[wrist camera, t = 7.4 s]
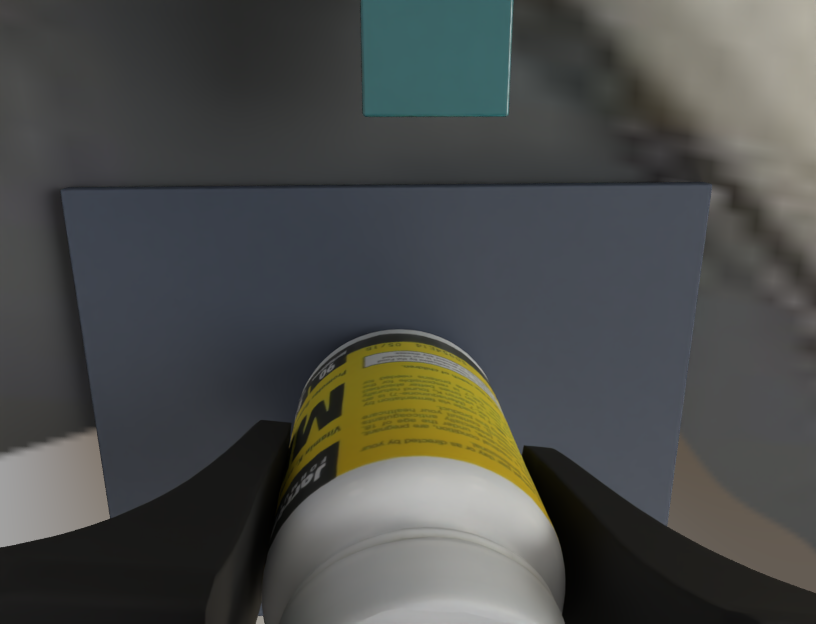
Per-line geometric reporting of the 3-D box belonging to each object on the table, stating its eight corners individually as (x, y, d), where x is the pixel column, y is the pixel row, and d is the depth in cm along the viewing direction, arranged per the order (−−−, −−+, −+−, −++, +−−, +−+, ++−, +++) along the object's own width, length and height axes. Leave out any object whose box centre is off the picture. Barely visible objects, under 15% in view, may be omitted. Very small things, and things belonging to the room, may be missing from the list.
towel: (130, 611, 18) (125, 623, 17) (66, 186, 14) (58, 189, 14) (652, 586, 19) (658, 597, 18) (704, 181, 15) (713, 183, 15)
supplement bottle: (315, 306, 15) (265, 538, 7) (517, 344, 16) (680, 598, 8) (281, 491, 16) (205, 862, 8) (467, 520, 17) (562, 892, 9)
